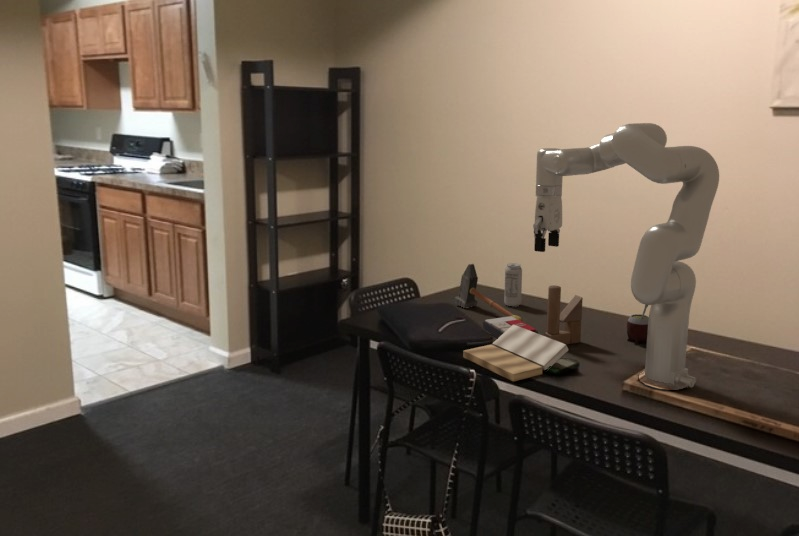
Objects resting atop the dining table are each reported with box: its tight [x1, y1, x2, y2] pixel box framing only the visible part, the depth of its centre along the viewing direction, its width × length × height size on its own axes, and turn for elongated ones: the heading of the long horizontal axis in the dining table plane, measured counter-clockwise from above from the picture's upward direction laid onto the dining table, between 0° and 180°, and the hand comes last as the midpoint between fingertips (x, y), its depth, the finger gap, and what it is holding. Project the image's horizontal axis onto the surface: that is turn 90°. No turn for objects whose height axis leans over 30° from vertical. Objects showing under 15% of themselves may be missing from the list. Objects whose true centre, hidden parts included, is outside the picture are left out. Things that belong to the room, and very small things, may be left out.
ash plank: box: [491, 324, 569, 371], centre depth 199 cm, size 22×9×2 cm
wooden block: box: [543, 285, 584, 345], centre depth 211 cm, size 4×11×18 cm, turn 111°
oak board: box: [462, 344, 543, 382], centre depth 194 cm, size 22×10×2 cm, turn 31°
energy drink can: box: [503, 262, 523, 307], centre depth 253 cm, size 6×6×15 cm
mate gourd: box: [626, 304, 649, 346], centre depth 211 cm, size 8×8×15 cm
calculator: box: [482, 316, 539, 339], centre depth 221 cm, size 11×4×15 cm
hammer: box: [453, 263, 523, 322], centre depth 242 cm, size 6×16×30 cm
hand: (546, 248), depth 209 cm, fingers open, 9 cm apart
